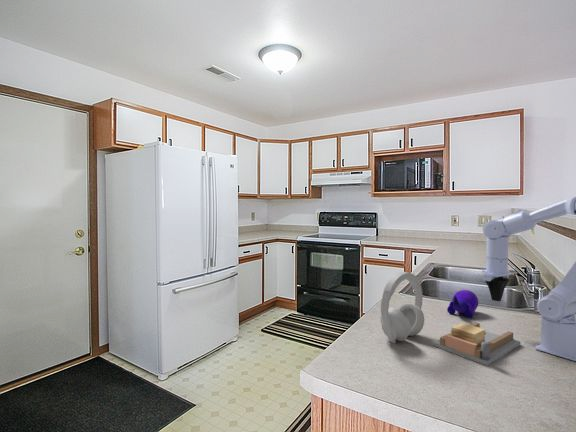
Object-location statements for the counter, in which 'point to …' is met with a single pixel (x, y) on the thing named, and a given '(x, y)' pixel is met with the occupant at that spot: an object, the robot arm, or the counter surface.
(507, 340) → the bay
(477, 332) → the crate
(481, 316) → the counter surface
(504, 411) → the counter surface
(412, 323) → the headphones
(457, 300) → the toy
